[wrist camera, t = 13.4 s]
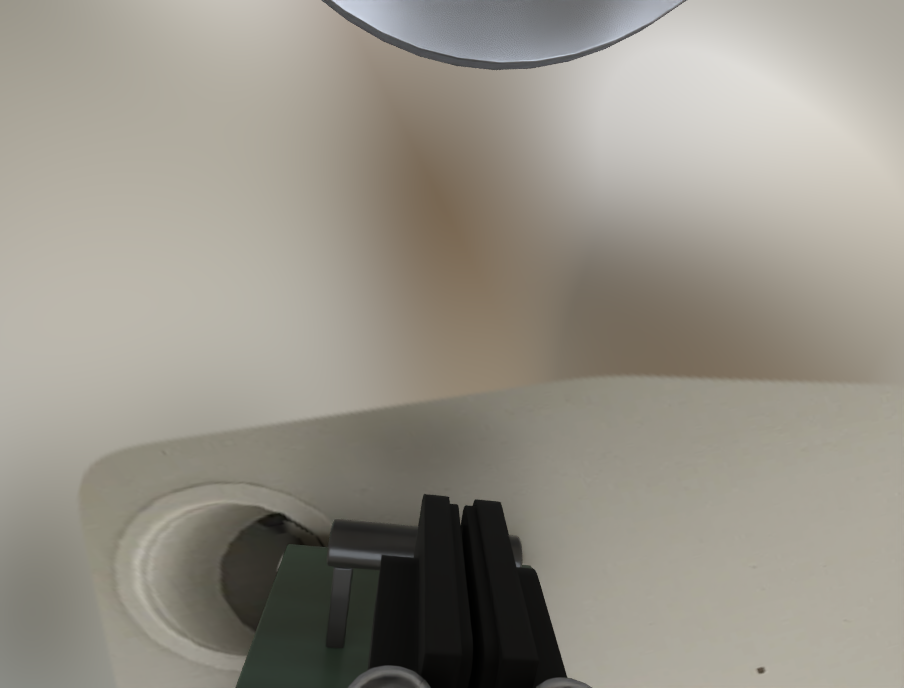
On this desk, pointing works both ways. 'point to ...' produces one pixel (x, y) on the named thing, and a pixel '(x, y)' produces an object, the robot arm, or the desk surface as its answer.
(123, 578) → the desk surface
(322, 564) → the drawer
